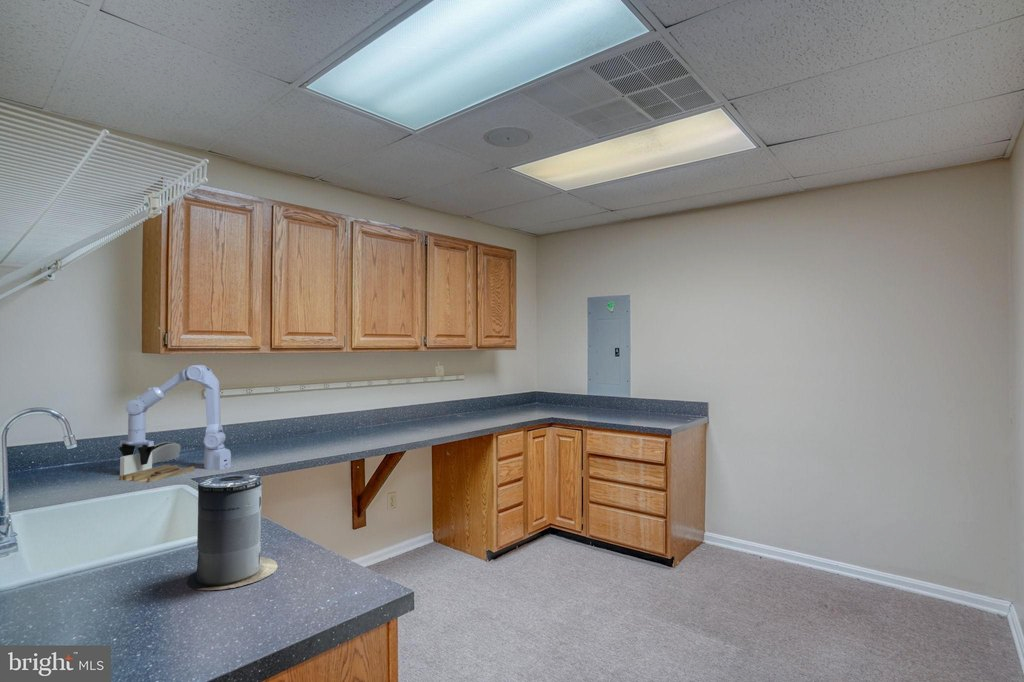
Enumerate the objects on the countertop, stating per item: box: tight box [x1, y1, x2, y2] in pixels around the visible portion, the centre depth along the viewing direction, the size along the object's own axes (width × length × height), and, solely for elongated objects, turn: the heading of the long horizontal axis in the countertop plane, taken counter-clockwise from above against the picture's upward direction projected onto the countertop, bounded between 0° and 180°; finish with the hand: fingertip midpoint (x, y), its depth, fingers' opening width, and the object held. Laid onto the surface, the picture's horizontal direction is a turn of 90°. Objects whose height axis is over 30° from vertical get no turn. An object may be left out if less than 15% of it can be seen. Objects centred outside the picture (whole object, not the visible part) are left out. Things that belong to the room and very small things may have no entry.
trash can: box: [186, 474, 278, 591], centre depth 115 cm, size 17×18×21 cm
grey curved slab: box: [152, 441, 182, 465], centre depth 231 cm, size 17×5×10 cm, turn 171°
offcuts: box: [151, 467, 180, 477], centre depth 202 cm, size 4×10×2 cm, turn 167°
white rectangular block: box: [119, 452, 153, 476], centre depth 208 cm, size 2×12×8 cm, turn 167°
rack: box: [118, 464, 195, 483], centre depth 203 cm, size 14×20×3 cm
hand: (136, 463), depth 208 cm, fingers open, 7 cm apart
